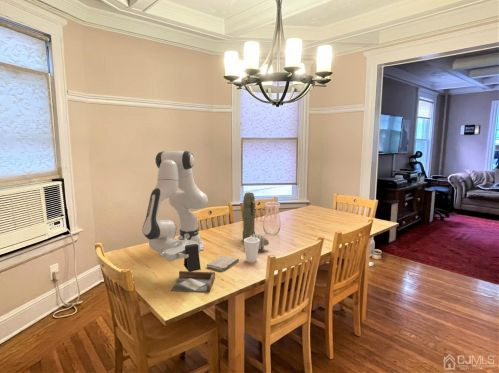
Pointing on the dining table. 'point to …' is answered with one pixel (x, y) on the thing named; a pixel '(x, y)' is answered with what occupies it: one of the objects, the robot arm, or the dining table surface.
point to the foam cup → (251, 248)
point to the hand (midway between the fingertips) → (193, 254)
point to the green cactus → (248, 215)
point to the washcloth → (222, 263)
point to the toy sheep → (261, 241)
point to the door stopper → (192, 258)
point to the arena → (194, 281)
